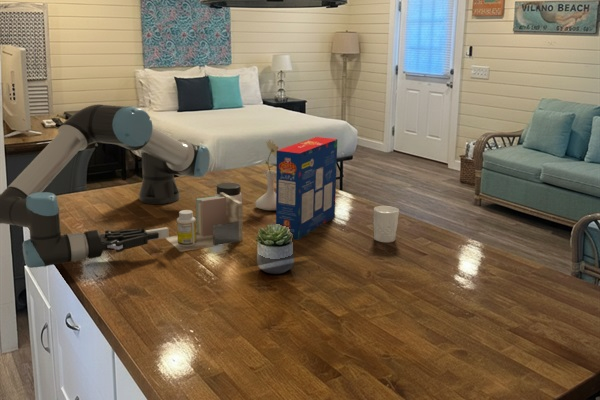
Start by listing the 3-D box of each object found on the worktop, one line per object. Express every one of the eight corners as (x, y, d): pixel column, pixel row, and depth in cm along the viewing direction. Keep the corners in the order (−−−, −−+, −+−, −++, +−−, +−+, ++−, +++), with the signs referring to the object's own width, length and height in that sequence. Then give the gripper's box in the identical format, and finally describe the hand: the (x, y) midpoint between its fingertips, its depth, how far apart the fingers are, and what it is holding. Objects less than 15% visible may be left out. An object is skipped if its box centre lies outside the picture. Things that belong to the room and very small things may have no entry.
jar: (246, 220, 211) (246, 186, 208) (226, 224, 206) (225, 190, 203) (231, 213, 218) (231, 181, 215) (212, 217, 213) (211, 184, 210)
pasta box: (314, 213, 220) (316, 136, 213) (334, 216, 217) (337, 139, 209) (275, 235, 197) (276, 150, 189) (297, 240, 193) (299, 153, 185)
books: (197, 232, 195) (196, 197, 192) (220, 228, 199) (219, 193, 196) (203, 236, 191) (202, 201, 187) (226, 232, 195) (226, 197, 192)
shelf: (164, 241, 190) (162, 200, 186) (223, 231, 200) (223, 192, 196) (180, 255, 178) (179, 212, 175) (242, 244, 188) (242, 203, 185)
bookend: (213, 244, 184) (212, 225, 183) (237, 240, 188) (237, 221, 187) (214, 245, 183) (214, 226, 182) (238, 241, 187) (238, 222, 186)
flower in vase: (288, 212, 221) (289, 144, 214) (256, 213, 219) (256, 144, 212) (283, 202, 233) (283, 137, 226) (253, 203, 231) (253, 138, 224)
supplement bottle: (188, 239, 188) (187, 207, 185) (200, 244, 184) (199, 211, 181) (173, 244, 184) (172, 211, 181) (185, 248, 180) (184, 215, 177)
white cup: (398, 236, 198) (400, 207, 195) (394, 244, 191) (396, 214, 188) (375, 233, 200) (376, 204, 197) (369, 241, 193) (371, 211, 190)
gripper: (80, 250, 174) (161, 237, 186) (91, 266, 163) (176, 251, 175) (78, 225, 172) (160, 214, 184) (89, 239, 161) (175, 226, 173)
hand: (167, 232), depth 179 cm, fingers closed
